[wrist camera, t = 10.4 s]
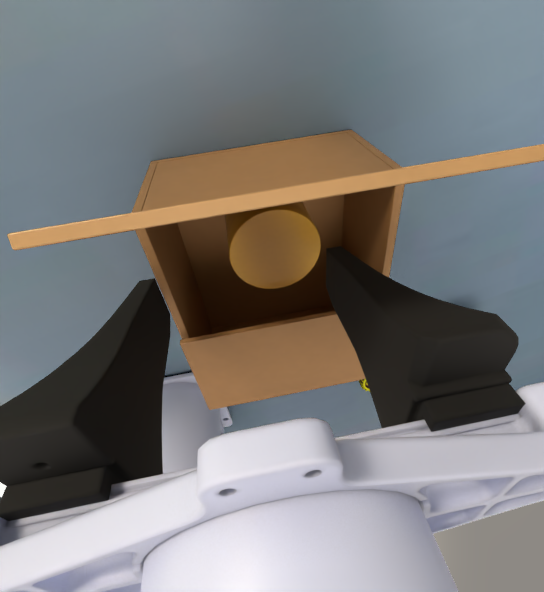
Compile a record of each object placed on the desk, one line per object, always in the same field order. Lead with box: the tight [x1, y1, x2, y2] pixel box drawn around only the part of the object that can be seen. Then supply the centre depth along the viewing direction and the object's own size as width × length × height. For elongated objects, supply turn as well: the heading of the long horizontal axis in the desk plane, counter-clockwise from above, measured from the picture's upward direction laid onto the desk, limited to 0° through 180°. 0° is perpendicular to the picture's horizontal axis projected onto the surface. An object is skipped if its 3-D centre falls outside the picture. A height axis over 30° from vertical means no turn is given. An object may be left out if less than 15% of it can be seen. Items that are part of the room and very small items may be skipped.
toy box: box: [132, 130, 405, 410], centre depth 19 cm, size 13×11×7 cm
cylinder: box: [225, 202, 321, 289], centre depth 17 cm, size 4×4×5 cm
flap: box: [7, 144, 544, 250], centre depth 9 cm, size 6×11×1 cm
